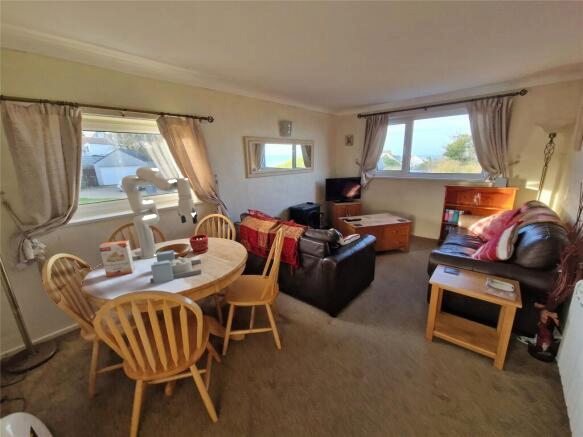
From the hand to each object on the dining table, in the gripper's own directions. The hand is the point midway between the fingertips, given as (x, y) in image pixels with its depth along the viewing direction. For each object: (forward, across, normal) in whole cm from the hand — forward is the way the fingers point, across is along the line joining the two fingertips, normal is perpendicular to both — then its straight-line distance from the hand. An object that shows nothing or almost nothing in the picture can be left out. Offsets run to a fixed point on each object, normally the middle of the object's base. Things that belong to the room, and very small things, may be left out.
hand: (189, 223), depth 154 cm
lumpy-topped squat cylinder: (+29, -1, -12) cm, 32 cm away
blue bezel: (+29, -8, -18) cm, 35 cm away
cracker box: (+28, -36, -27) cm, 53 cm away
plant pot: (+29, -13, +18) cm, 36 cm away
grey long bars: (+29, -3, -14) cm, 32 cm away
